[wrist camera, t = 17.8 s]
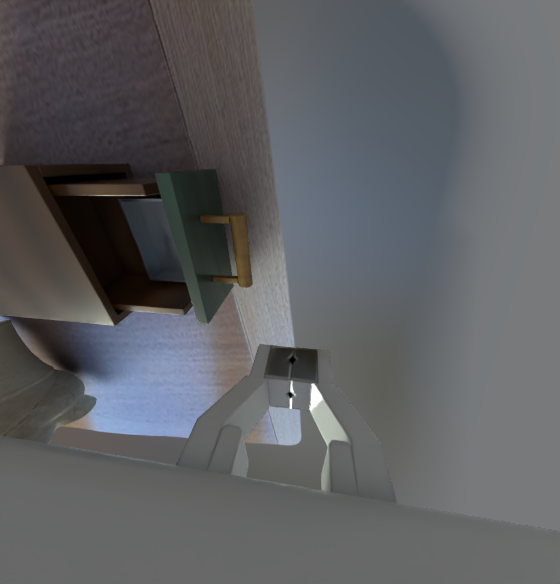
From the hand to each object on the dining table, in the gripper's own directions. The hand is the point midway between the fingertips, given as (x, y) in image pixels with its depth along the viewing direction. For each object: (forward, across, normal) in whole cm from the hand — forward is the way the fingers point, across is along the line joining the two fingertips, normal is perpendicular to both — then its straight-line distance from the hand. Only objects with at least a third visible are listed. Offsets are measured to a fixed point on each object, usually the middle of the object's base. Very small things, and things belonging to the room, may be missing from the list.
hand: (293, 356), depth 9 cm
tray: (+16, +15, 0) cm, 22 cm away
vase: (+18, +54, +27) cm, 63 cm away
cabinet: (+18, +28, 0) cm, 33 cm away
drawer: (+17, +15, 0) cm, 22 cm away
